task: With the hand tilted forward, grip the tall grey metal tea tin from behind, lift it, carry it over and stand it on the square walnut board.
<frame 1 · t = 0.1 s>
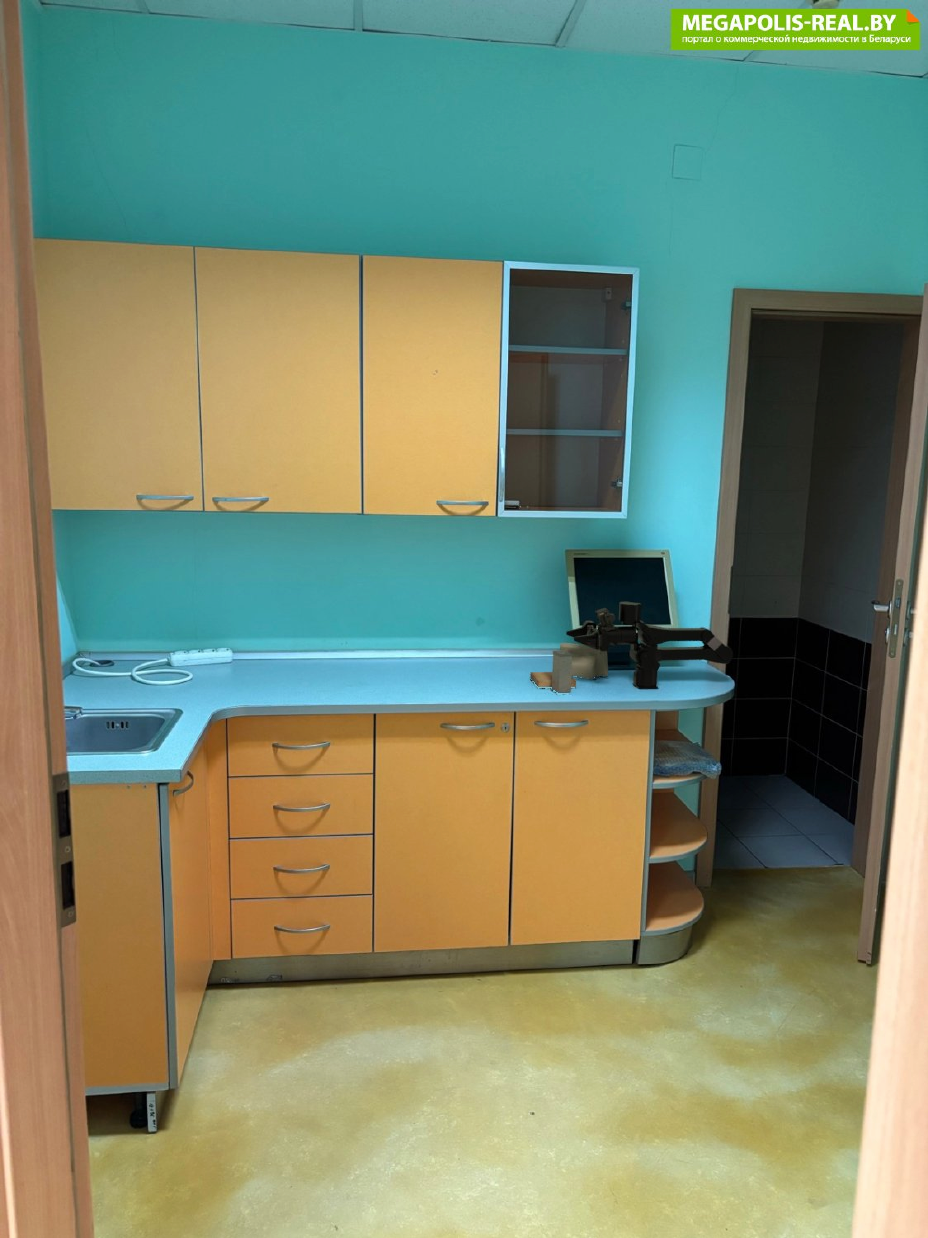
hand: (570, 636, 290), 17 cm above the counter, tool horizontal, fingers open, 9 cm apart
walnut board: (552, 684, 297), on the counter
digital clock: (583, 676, 310), on the counter
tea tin: (560, 693, 286), on the counter
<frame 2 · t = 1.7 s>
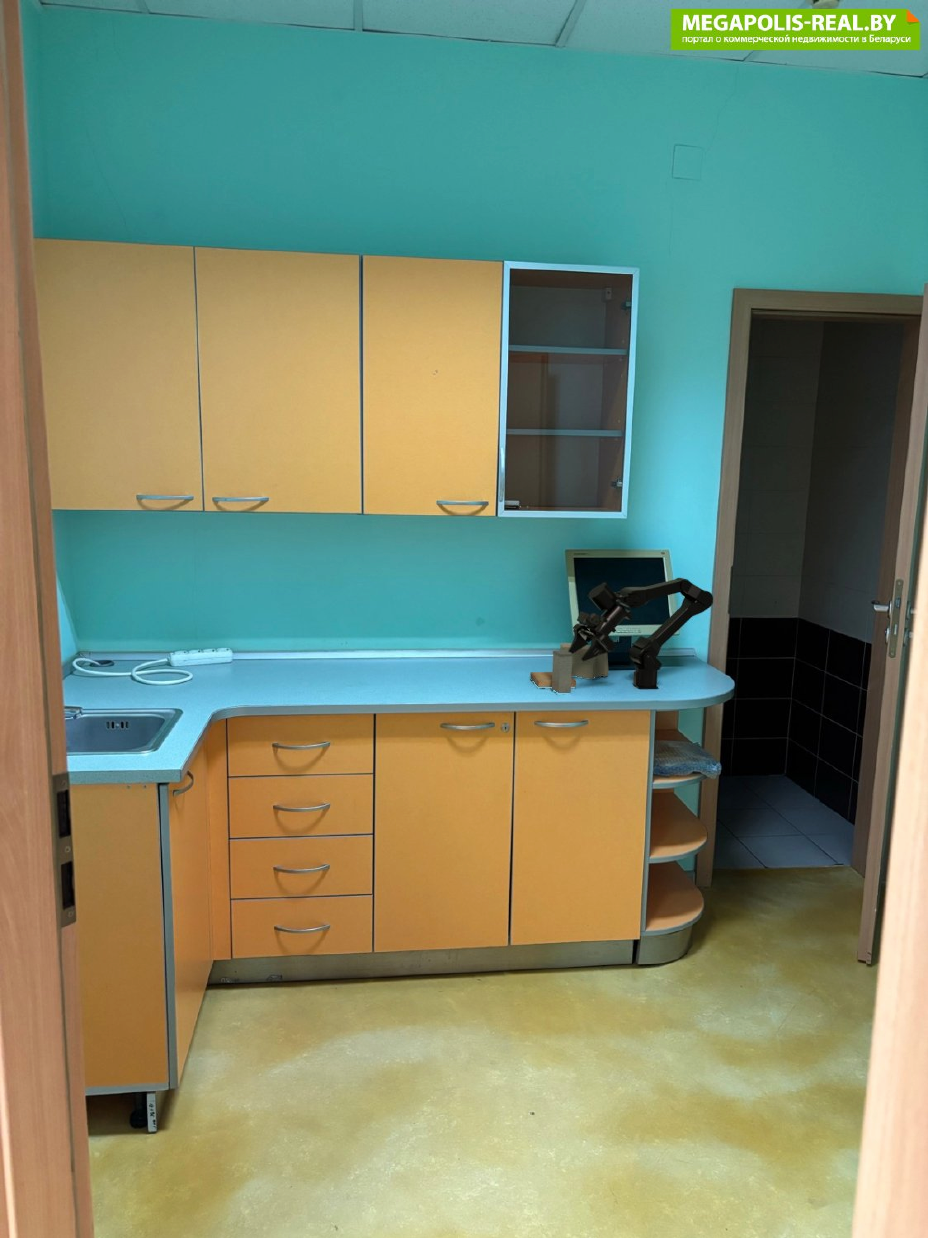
hand: (575, 657, 286), 11 cm above the counter, tool tilted 45°, fingers open, 9 cm apart
nothing on the counter moved.
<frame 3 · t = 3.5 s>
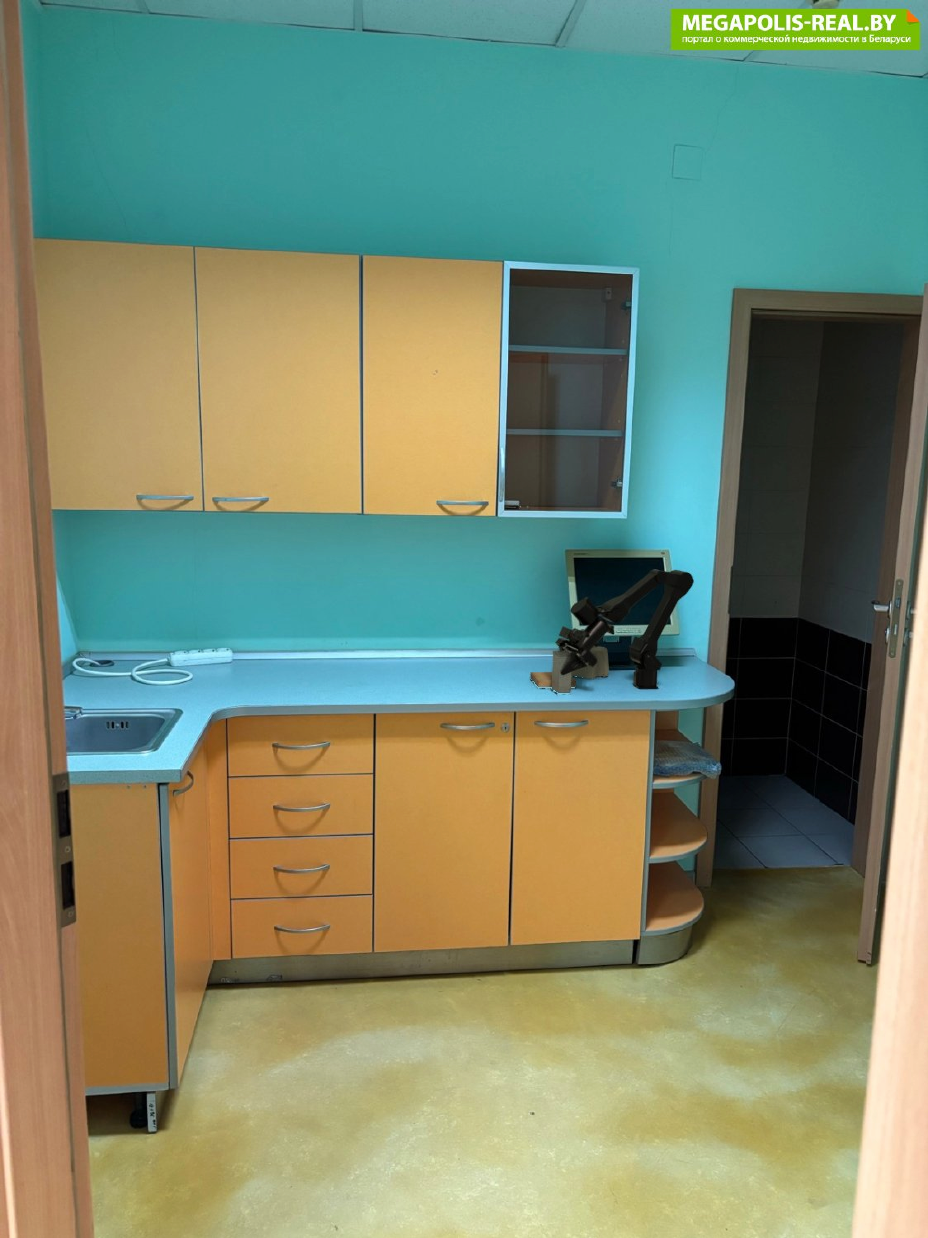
hand: (557, 672, 285), 7 cm above the counter, tool tilted 45°, fingers closed on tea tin, 5 cm apart
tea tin: (560, 693, 286), on the counter, touching gripper
everything else where it was.
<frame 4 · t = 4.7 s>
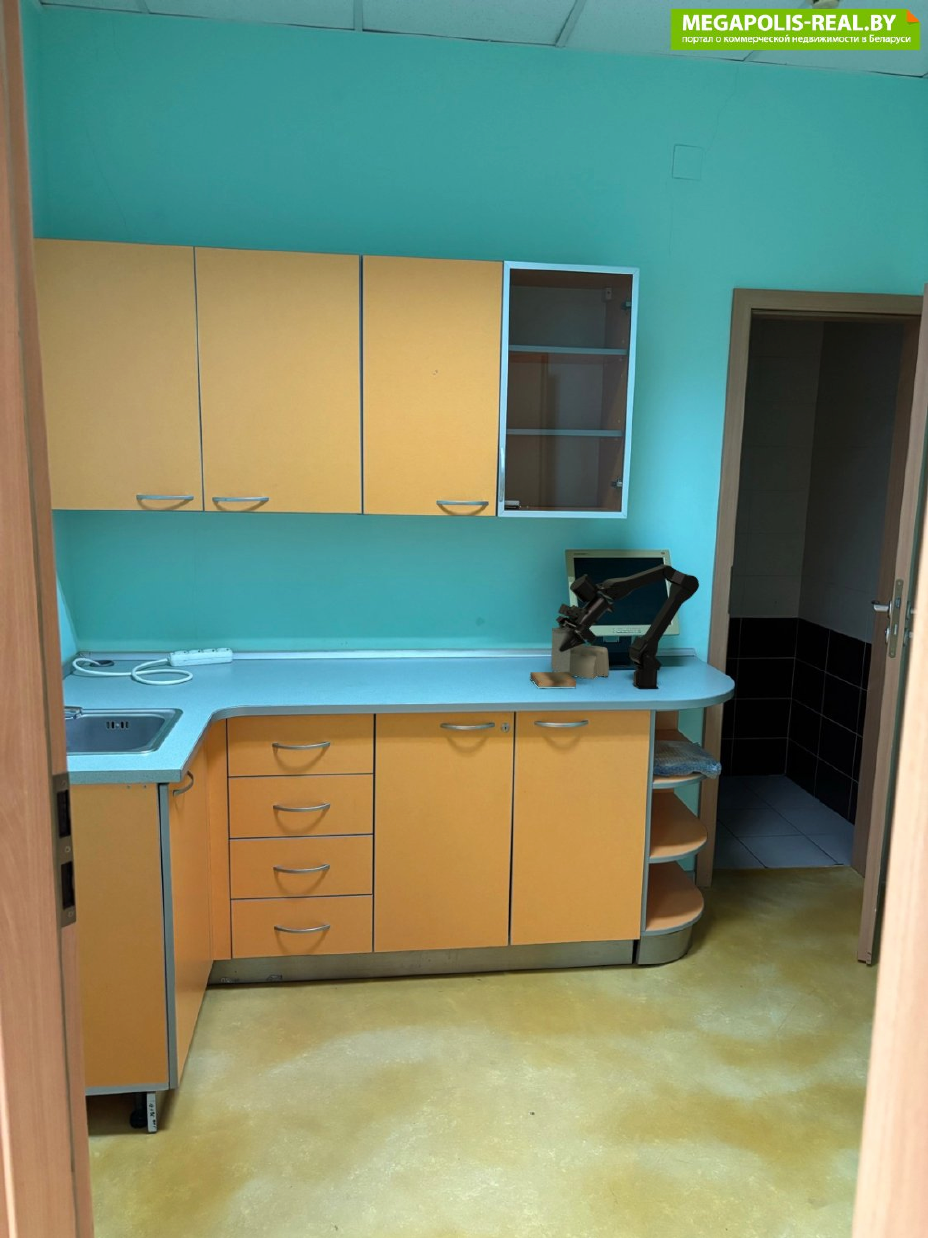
hand: (556, 649, 285), 13 cm above the counter, tool tilted 45°, fingers closed on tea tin, 5 cm apart
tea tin: (560, 670, 286), point 7 cm above the counter, touching gripper
everything else where it was.
when the fingers open (10 cm above the counter, at t = 6.4 s): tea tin stays where it is, resting on walnut board.
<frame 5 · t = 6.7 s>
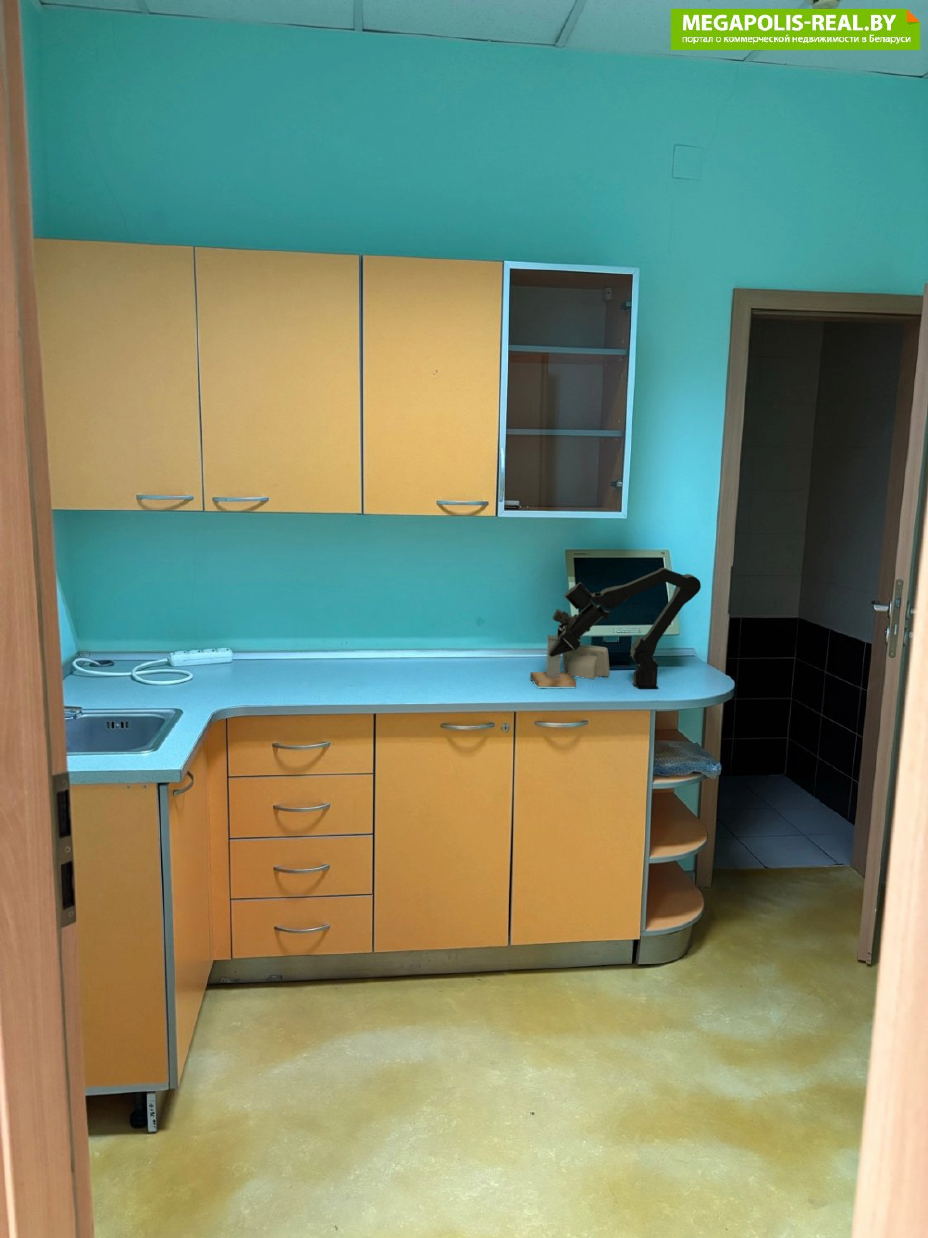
hand: (549, 653, 295), 10 cm above the counter, tool tilted 45°, fingers open, 8 cm apart
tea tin: (552, 676, 297), point 2 cm above the counter, touching walnut board
everything else where it was.
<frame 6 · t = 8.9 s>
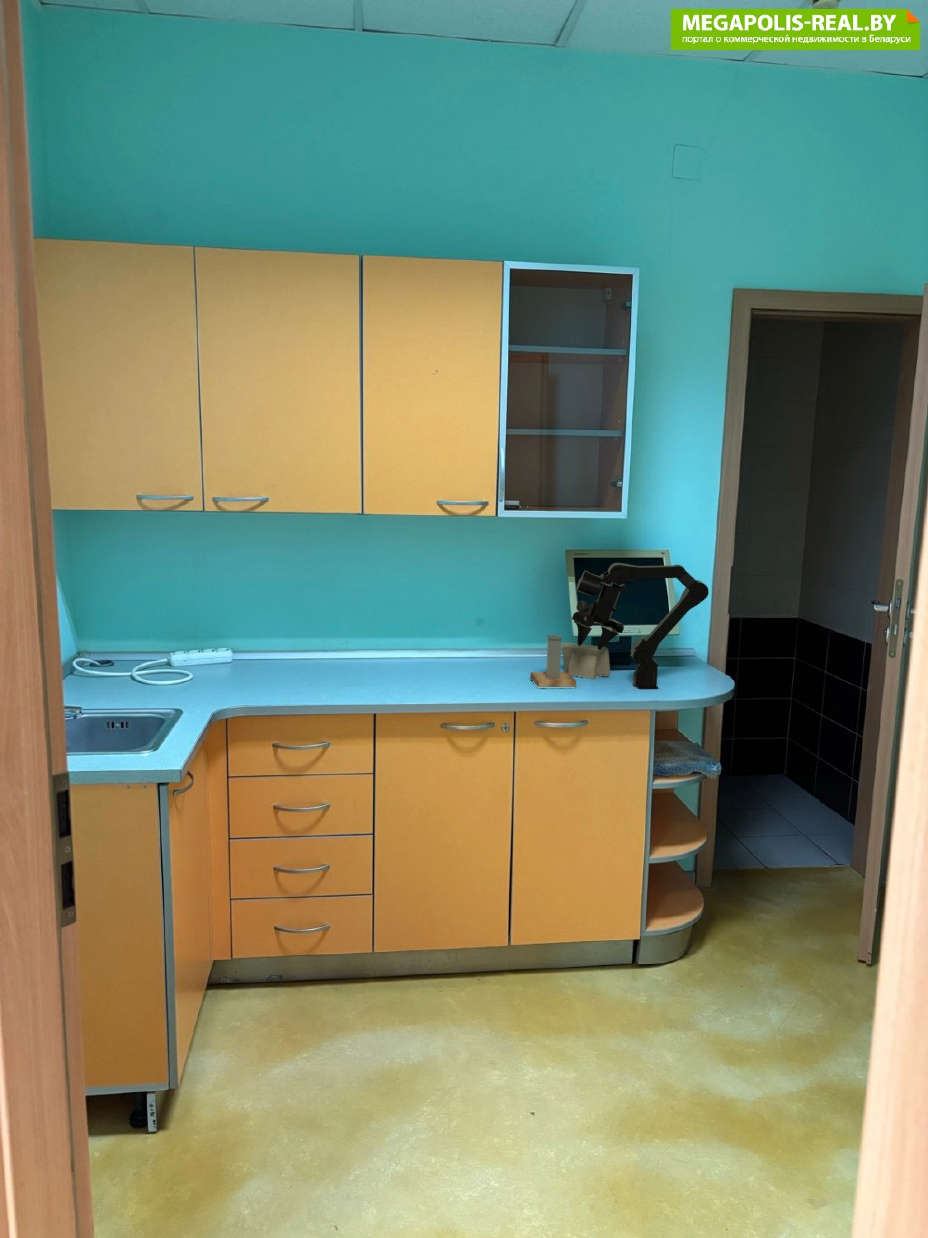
hand: (588, 647, 295), 12 cm above the counter, tool tilted 20°, fingers open, 9 cm apart
nothing on the counter moved.
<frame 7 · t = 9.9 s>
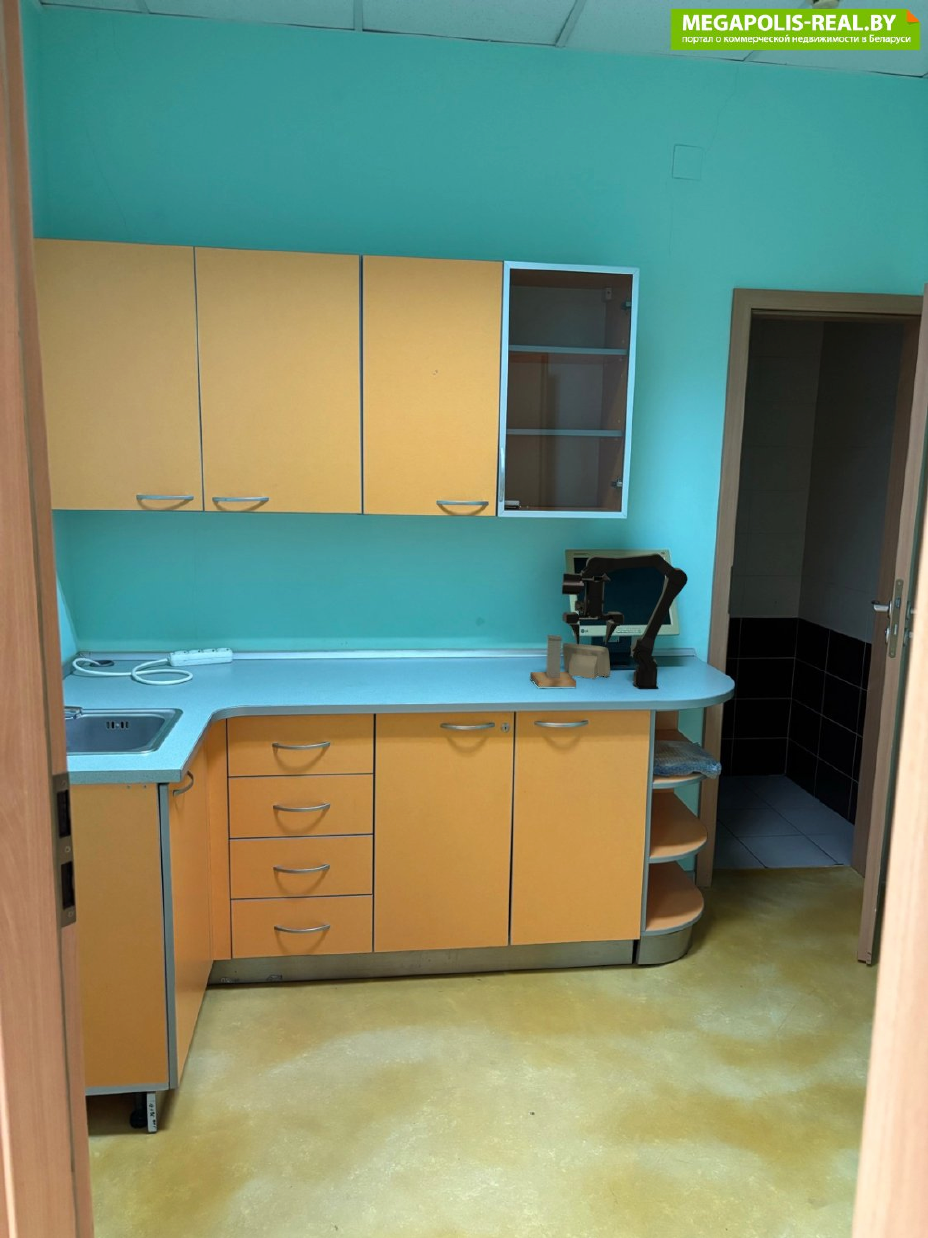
hand: (591, 644, 295), 13 cm above the counter, tool pointing down, fingers open, 9 cm apart
nothing on the counter moved.
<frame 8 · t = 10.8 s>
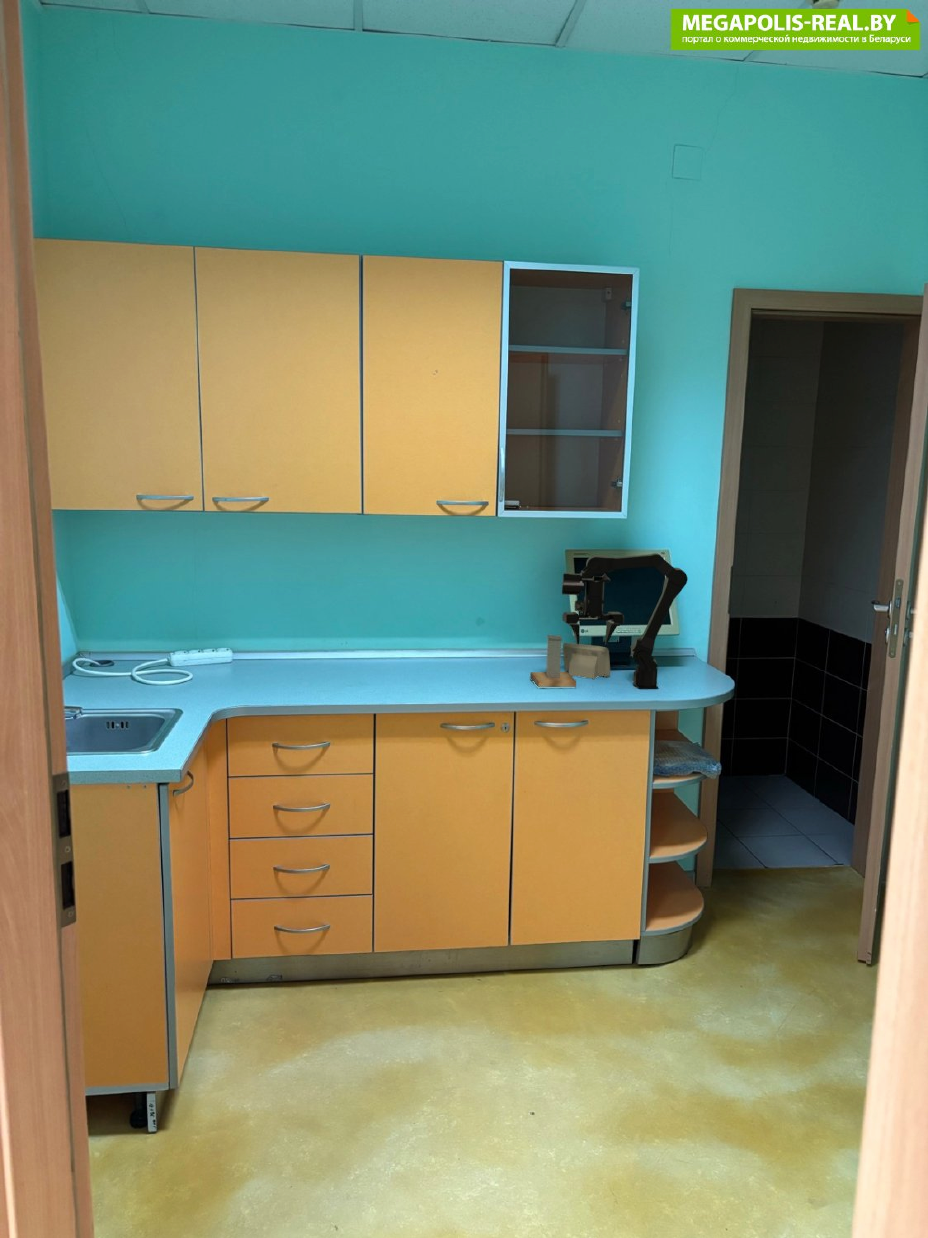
hand: (591, 644, 295), 13 cm above the counter, tool pointing down, fingers open, 9 cm apart
nothing on the counter moved.
at the end: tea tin inside the target area on the walnut board (0.0 cm from its centre), point 2.5 cm above the walnut board's base; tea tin tilted 0°; the gripper is holding nothing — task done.
